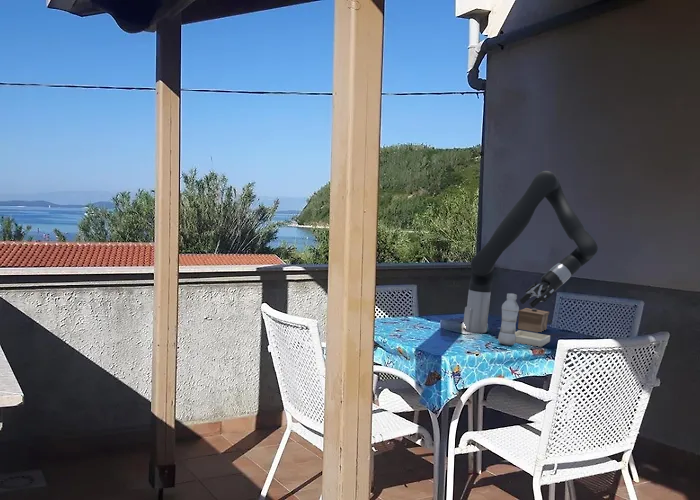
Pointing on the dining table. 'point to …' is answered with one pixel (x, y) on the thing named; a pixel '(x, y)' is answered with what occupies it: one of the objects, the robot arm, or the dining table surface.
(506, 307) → the plastic bottle
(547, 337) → the tray
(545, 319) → the lidded box
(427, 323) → the dining table surface
